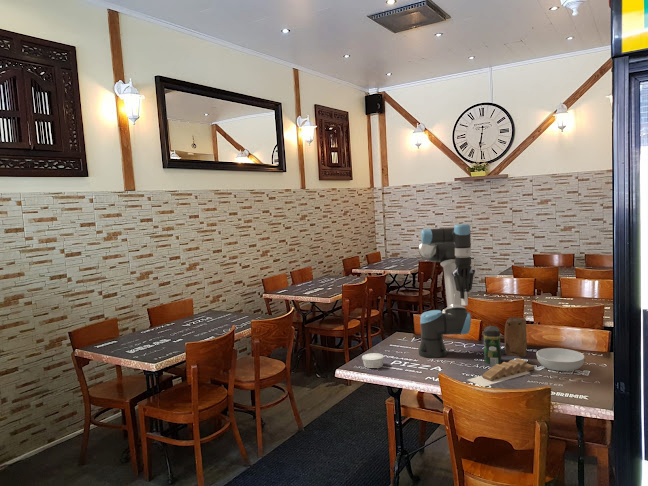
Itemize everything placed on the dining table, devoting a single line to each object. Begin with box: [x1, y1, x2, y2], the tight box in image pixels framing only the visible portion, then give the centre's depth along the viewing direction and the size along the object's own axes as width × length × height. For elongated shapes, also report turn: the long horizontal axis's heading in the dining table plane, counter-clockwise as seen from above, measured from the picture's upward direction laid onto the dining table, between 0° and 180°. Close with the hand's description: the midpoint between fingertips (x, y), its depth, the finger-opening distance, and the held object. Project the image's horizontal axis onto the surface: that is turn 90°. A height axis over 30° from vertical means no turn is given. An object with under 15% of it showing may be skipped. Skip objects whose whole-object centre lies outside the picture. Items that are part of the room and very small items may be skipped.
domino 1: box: [481, 364, 506, 381], centre depth 221 cm, size 2×5×10 cm
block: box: [504, 316, 528, 358], centre depth 252 cm, size 11×8×20 cm
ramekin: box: [361, 352, 385, 369], centre depth 249 cm, size 11×11×5 cm
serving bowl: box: [535, 347, 585, 372], centre depth 231 cm, size 21×21×7 cm
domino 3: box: [503, 359, 520, 377], centre depth 225 cm, size 2×5×10 cm
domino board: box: [467, 371, 531, 388], centre depth 222 cm, size 30×10×1 cm, turn 117°
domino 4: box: [511, 357, 528, 375], centre depth 227 cm, size 2×5×10 cm
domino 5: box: [517, 363, 535, 373], centre depth 229 cm, size 2×5×10 cm
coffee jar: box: [483, 325, 502, 366], centre depth 242 cm, size 10×8×19 cm
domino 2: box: [496, 361, 513, 379], centre depth 223 cm, size 2×5×10 cm
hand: (464, 305), depth 233 cm, fingers closed
